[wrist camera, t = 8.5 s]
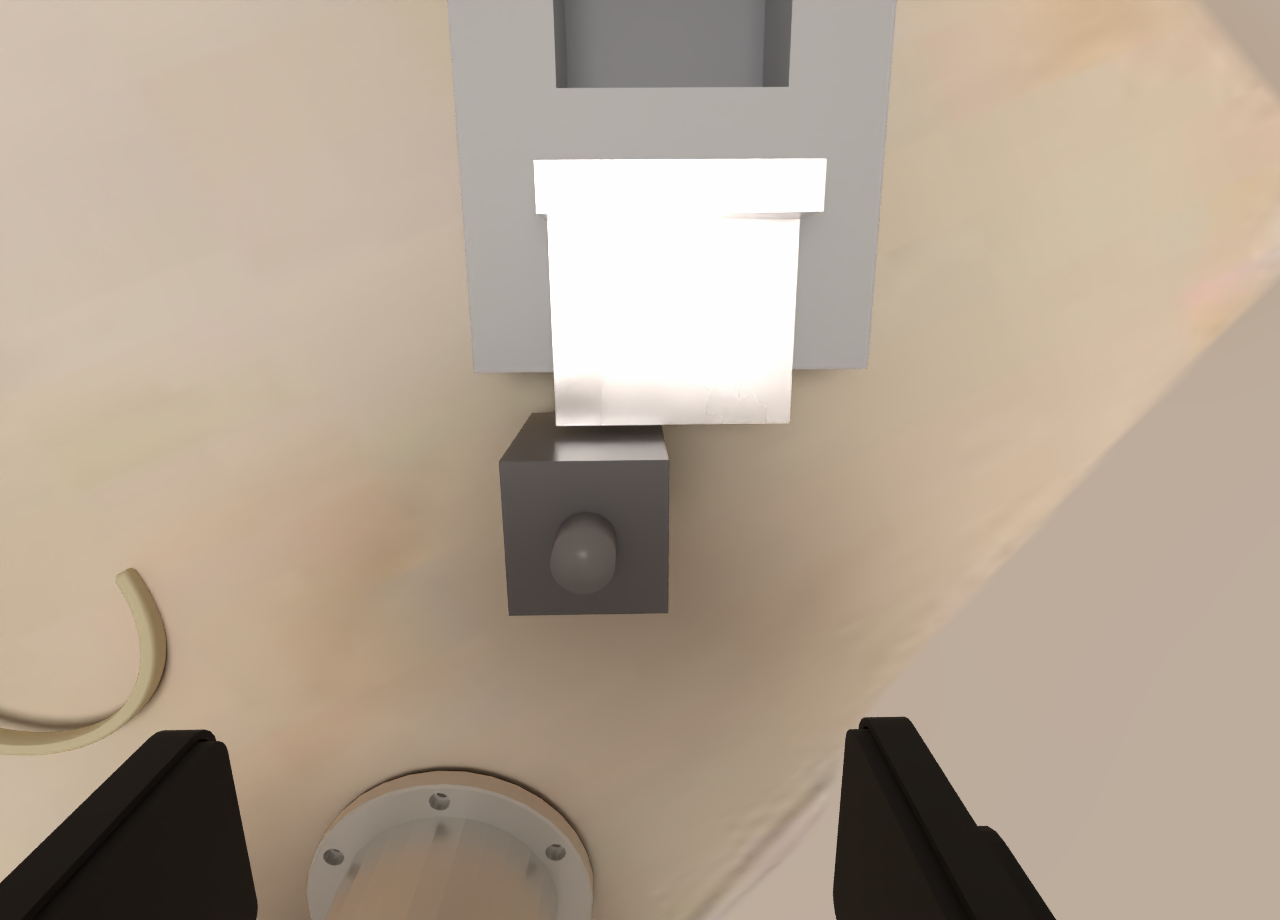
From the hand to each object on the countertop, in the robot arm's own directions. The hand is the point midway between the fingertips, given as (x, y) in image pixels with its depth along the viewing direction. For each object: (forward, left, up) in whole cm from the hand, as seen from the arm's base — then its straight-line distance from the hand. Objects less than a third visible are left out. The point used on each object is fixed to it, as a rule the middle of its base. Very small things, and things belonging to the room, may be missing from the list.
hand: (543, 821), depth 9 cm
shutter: (+6, -3, -13) cm, 15 cm away
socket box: (+12, -3, -18) cm, 22 cm away
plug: (0, 0, -18) cm, 18 cm away
